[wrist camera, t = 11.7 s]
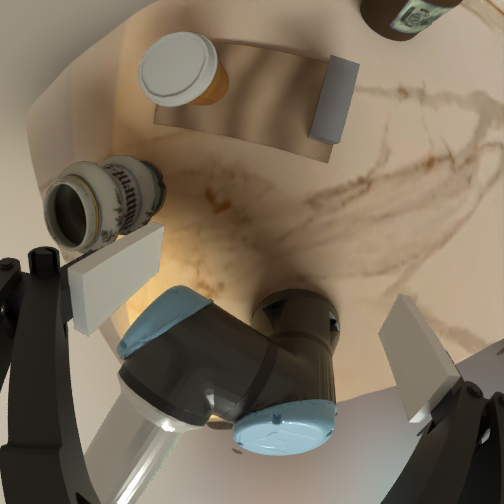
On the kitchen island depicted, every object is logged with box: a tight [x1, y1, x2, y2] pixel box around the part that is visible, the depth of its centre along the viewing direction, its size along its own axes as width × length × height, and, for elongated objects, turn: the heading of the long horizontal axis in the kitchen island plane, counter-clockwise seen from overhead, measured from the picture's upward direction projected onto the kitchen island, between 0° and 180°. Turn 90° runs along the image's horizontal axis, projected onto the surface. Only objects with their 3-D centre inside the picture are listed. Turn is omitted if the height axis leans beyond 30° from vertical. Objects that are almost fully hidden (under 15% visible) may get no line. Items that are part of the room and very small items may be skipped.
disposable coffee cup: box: [138, 32, 229, 107], centre depth 28 cm, size 10×10×12 cm
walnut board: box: [154, 42, 360, 163], centre depth 28 cm, size 26×14×11 cm, turn 76°
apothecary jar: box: [44, 155, 166, 254], centre depth 33 cm, size 12×12×18 cm
